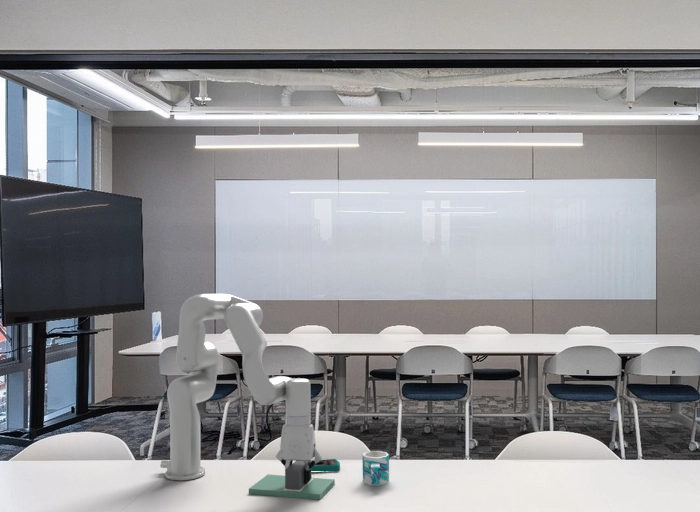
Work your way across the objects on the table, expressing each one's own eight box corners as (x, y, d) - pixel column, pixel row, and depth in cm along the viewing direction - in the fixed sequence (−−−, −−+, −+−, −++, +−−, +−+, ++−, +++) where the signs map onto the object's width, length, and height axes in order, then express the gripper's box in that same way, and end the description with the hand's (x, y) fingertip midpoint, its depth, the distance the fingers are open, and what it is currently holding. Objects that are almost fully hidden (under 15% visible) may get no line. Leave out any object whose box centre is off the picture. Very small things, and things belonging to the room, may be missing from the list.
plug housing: (285, 488, 180) (285, 469, 180) (301, 474, 193) (301, 456, 193) (299, 489, 178) (299, 470, 179) (314, 475, 191) (314, 457, 192)
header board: (248, 493, 181) (248, 476, 181) (267, 479, 194) (267, 463, 194) (320, 499, 175) (319, 481, 175) (334, 484, 188) (334, 467, 189)
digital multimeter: (341, 472, 202) (341, 463, 202) (295, 475, 199) (295, 466, 200) (338, 466, 209) (338, 457, 209) (294, 468, 207) (294, 459, 207)
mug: (389, 477, 195) (388, 450, 195) (389, 490, 183) (389, 461, 183) (363, 477, 195) (362, 450, 196) (361, 489, 183) (361, 461, 184)
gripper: (267, 421, 184) (267, 484, 183) (321, 424, 179) (321, 488, 178) (276, 416, 191) (277, 476, 190) (328, 419, 186) (329, 480, 185)
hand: (298, 481), depth 184 cm, fingers closed on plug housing, 4 cm apart
